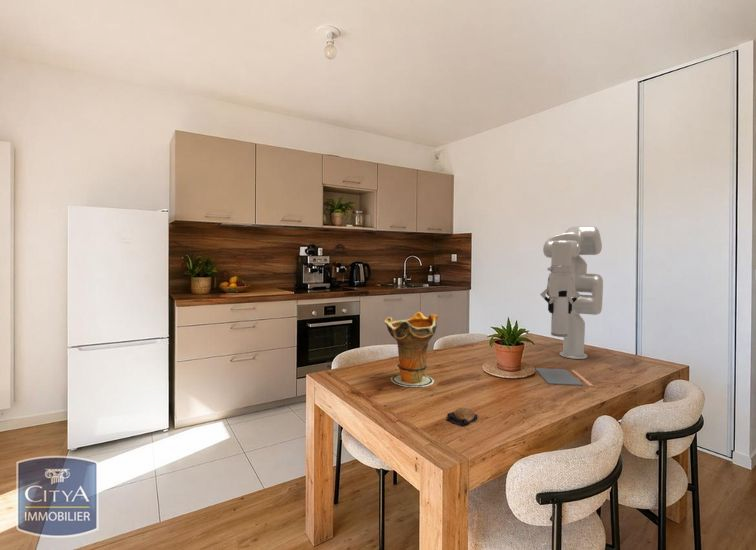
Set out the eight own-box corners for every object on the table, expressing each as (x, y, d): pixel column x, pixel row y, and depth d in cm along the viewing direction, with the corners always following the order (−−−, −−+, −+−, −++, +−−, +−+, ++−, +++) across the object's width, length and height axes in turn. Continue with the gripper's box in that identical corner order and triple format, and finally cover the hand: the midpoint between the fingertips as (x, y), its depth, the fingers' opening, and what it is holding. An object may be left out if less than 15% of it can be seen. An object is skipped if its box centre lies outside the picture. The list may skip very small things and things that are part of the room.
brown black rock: (458, 411, 128) (458, 400, 128) (482, 418, 123) (482, 407, 122) (441, 421, 120) (441, 410, 120) (466, 429, 115) (466, 417, 114)
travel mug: (569, 335, 162) (571, 288, 160) (564, 337, 157) (566, 289, 155) (554, 333, 166) (555, 287, 165) (548, 335, 161) (550, 288, 160)
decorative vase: (373, 380, 156) (375, 312, 155) (408, 371, 173) (410, 309, 172) (413, 393, 142) (417, 318, 141) (447, 381, 159) (450, 314, 158)
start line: (571, 370, 171) (571, 370, 171) (574, 370, 171) (574, 370, 171) (589, 386, 151) (589, 385, 151) (593, 386, 151) (593, 385, 151)
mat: (535, 369, 173) (535, 368, 173) (565, 370, 171) (565, 369, 171) (548, 384, 153) (548, 382, 153) (583, 385, 151) (583, 384, 151)
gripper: (541, 270, 157) (540, 313, 158) (586, 270, 155) (585, 314, 156) (536, 269, 165) (535, 311, 166) (579, 269, 162) (578, 312, 163)
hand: (559, 312), depth 161 cm, fingers closed on travel mug, 6 cm apart
